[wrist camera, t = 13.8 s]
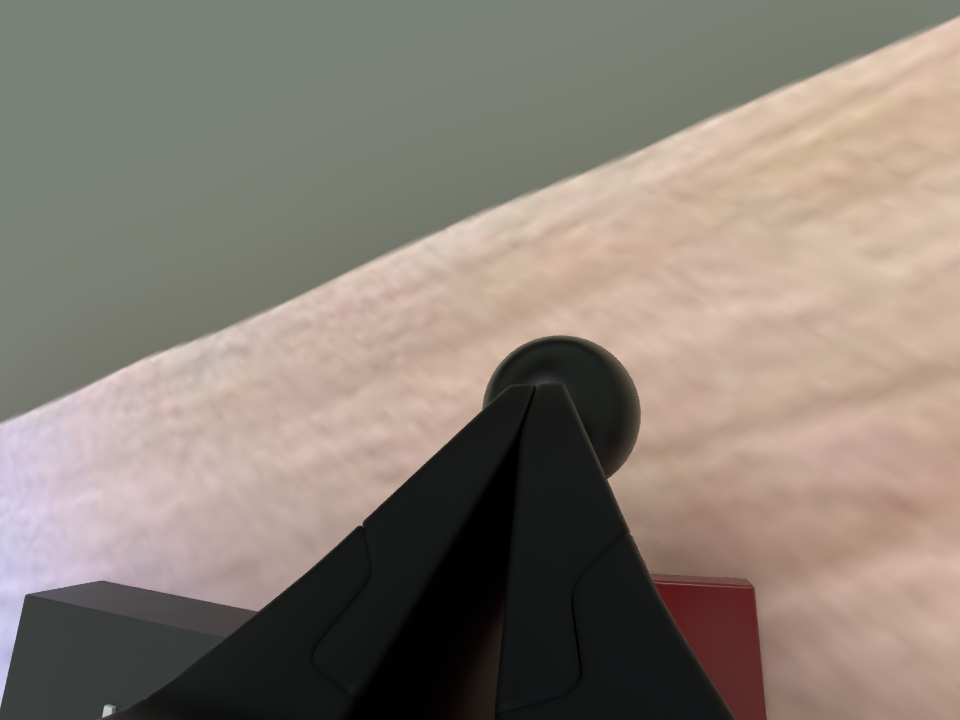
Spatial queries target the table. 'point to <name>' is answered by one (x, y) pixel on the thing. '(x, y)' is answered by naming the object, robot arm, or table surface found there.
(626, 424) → the black lever handle
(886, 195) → the table surface
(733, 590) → the red lever stand
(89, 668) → the control panel
